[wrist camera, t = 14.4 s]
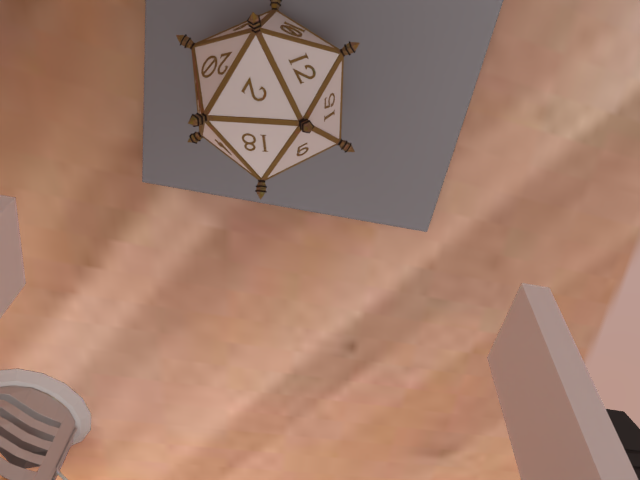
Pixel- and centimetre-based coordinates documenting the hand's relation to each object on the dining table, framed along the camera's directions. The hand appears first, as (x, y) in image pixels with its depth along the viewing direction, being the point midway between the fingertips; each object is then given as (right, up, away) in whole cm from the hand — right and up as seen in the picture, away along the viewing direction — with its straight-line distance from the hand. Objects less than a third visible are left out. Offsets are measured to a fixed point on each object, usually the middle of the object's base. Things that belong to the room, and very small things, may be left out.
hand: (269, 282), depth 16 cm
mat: (+1, +11, +17) cm, 20 cm away
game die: (+2, +10, +16) cm, 19 cm away
